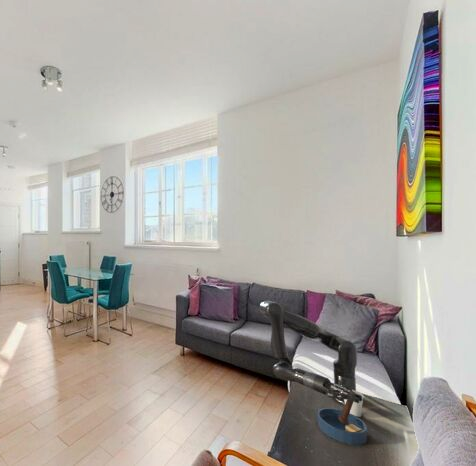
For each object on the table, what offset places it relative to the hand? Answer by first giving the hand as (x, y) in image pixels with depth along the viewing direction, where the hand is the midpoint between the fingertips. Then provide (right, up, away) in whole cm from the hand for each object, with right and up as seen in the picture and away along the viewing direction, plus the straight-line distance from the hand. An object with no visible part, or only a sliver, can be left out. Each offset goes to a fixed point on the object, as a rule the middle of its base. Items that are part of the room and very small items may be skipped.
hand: (360, 399), depth 119 cm
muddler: (-3, -13, +6) cm, 14 cm away
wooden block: (-1, -17, +2) cm, 18 cm away
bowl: (-3, -18, +6) cm, 19 cm away
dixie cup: (+12, -18, +19) cm, 29 cm away
